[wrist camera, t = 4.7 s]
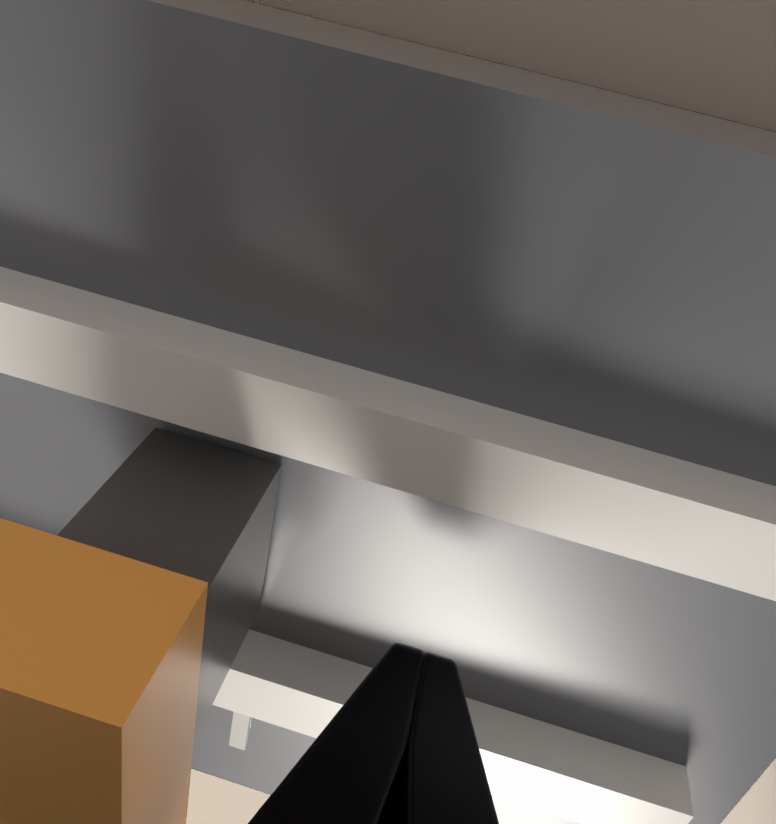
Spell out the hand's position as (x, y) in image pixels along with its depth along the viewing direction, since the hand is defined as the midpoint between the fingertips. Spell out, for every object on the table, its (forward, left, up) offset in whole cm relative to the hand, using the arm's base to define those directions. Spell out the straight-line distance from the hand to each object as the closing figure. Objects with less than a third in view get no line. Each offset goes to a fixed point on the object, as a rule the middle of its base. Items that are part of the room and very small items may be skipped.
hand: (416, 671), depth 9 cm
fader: (+3, 0, -2) cm, 4 cm away
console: (+5, 0, -4) cm, 6 cm away
